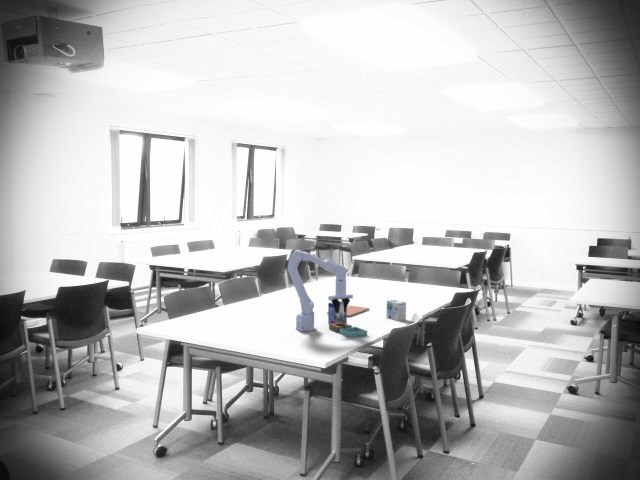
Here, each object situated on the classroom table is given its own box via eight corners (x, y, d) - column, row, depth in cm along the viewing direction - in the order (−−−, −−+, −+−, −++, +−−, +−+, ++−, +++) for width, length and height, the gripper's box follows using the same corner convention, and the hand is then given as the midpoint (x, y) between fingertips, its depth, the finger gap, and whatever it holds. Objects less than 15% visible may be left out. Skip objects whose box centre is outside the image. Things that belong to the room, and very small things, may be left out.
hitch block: (337, 332, 302) (337, 327, 302) (329, 329, 310) (329, 323, 310) (351, 330, 307) (351, 325, 307) (342, 327, 315) (342, 322, 314)
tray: (350, 337, 292) (350, 333, 292) (339, 333, 301) (339, 328, 301) (367, 335, 297) (367, 330, 297) (356, 331, 306) (356, 326, 306)
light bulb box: (386, 318, 341) (386, 300, 340) (394, 316, 345) (394, 299, 344) (397, 321, 332) (398, 303, 331) (406, 320, 336) (406, 302, 335)
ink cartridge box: (327, 323, 324) (327, 298, 323) (333, 322, 328) (333, 297, 327) (341, 326, 317) (341, 301, 316) (347, 324, 322) (347, 299, 321)
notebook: (346, 307, 374) (346, 304, 374) (369, 310, 365) (369, 307, 365) (325, 314, 351) (325, 311, 351) (349, 318, 342) (349, 314, 342)
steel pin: (339, 321, 305) (339, 302, 305) (335, 319, 309) (335, 301, 308) (345, 320, 307) (345, 302, 307) (341, 319, 311) (341, 301, 310)
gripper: (333, 289, 300) (332, 314, 301) (356, 287, 307) (355, 312, 308) (326, 287, 306) (326, 312, 307) (349, 285, 313) (348, 310, 314)
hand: (340, 312), depth 308 cm, fingers closed on steel pin, 4 cm apart
